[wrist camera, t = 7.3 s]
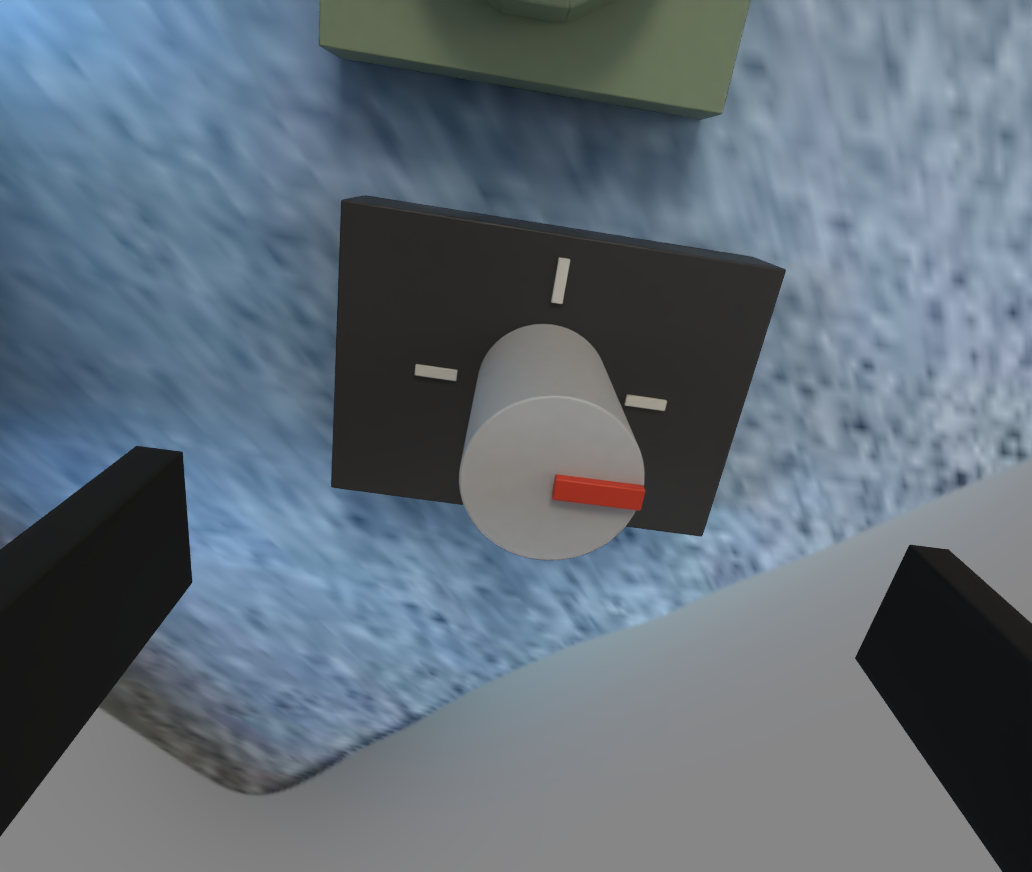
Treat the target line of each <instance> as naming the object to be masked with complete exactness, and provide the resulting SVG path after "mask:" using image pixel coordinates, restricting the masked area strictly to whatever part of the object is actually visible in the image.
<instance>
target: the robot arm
mask: <svg viewBox="0 0 1032 872" xmlns="http://www.w3.org/2000/svg"><path fill="white" fill-rule="evenodd" d="M191 583H192V572H191V559H190V545H189V532H188V518H187V505H186V491H185V478H184V464H183V452H180V451H172V450H164V449H157V448H149V447H141V446H136V447H134V448H133V449H132V450H130V451H129V452H128V453H127V454H125V455H124V456H123V457H121V458H120V459H119V460H117V461H116V462H115V463H113V464H112V465H111V466H109V467H108V468H107V469H106V470H104V471H103V472H102V473H100V474H99V475H98V476H96V477H95V478H94V479H92V480H91V481H90V482H88V483H87V484H86V485H85V486H83V487H82V488H81V489H79V490H78V491H77V492H75V493H74V494H73V495H71V496H70V497H69V498H67V499H66V500H65V501H64V502H62V503H61V504H60V505H58V506H57V507H56V508H54V509H53V510H52V511H50V512H49V513H48V514H46V515H45V516H44V517H43V518H41V519H40V520H39V521H37V522H36V523H35V524H33V525H32V526H31V527H29V528H28V529H27V530H25V531H24V532H23V533H22V534H20V535H19V536H18V537H16V538H15V539H14V540H12V541H11V542H10V543H8V544H7V545H6V546H4V547H3V548H2V549H1V550H0V836H1V835H2V833H3V832H4V831H5V830H6V828H7V827H8V826H9V824H10V823H11V822H12V820H13V819H14V818H15V816H16V815H17V814H18V812H19V811H20V810H21V808H22V807H23V806H24V804H25V803H26V802H27V801H28V799H29V798H30V796H31V795H32V794H33V793H34V791H35V790H36V788H37V787H38V786H39V784H40V783H41V782H42V781H43V779H44V778H45V777H46V775H47V774H48V773H49V771H50V770H51V769H52V767H53V766H54V765H55V763H56V762H57V761H58V759H59V758H60V757H61V755H62V754H63V753H64V751H65V750H66V749H67V748H68V746H69V745H70V744H71V742H72V741H73V740H74V738H75V737H76V736H77V734H78V733H79V732H80V730H81V729H82V728H83V726H84V725H85V724H86V722H87V721H88V720H89V718H90V717H91V716H92V714H93V713H94V712H95V710H96V709H97V708H98V707H99V705H100V704H101V703H102V701H103V700H104V699H105V697H106V696H107V695H108V693H109V692H110V691H111V689H112V688H113V687H114V685H115V684H116V683H117V681H118V680H119V679H120V677H121V676H122V675H123V673H124V672H125V671H126V669H127V668H128V667H129V666H130V664H131V663H132V662H133V660H134V659H135V658H136V656H137V655H138V654H139V652H140V651H141V650H142V648H143V647H144V646H145V644H146V643H147V642H148V640H149V639H150V638H151V636H152V635H153V634H154V632H155V631H156V630H157V628H158V627H159V626H160V625H161V623H162V622H163V621H164V619H165V618H166V617H167V615H168V614H169V613H170V611H171V610H172V609H173V607H174V606H175V605H176V603H177V602H178V601H179V599H180V598H181V597H182V595H183V594H184V593H185V591H186V590H187V589H188V587H189V586H190V585H191ZM855 659H856V660H857V662H858V663H859V665H860V666H861V668H862V669H863V670H864V672H865V673H866V675H867V676H868V678H869V679H870V681H871V682H872V684H873V685H874V686H875V688H876V689H877V691H878V692H879V694H880V695H881V697H882V698H883V699H884V701H885V702H886V704H887V705H888V707H889V708H890V710H891V711H892V712H893V714H894V715H895V717H896V718H897V720H898V721H899V723H900V724H901V726H902V727H903V728H904V730H905V731H906V733H907V734H908V736H909V737H910V739H911V740H912V741H913V743H914V744H915V746H916V747H917V749H918V750H919V751H920V753H921V754H922V756H923V757H924V759H925V760H926V762H927V763H928V765H929V766H930V767H931V769H932V770H933V772H934V773H935V775H936V776H937V777H938V779H939V781H940V782H941V783H942V785H943V786H944V788H945V789H946V790H947V792H948V793H949V795H950V796H951V798H952V799H953V801H954V802H955V804H956V805H957V806H958V808H959V809H960V811H961V812H962V814H963V815H964V817H965V818H966V820H967V821H968V823H969V824H970V825H971V827H972V828H973V830H974V831H975V833H976V834H977V835H978V837H979V838H980V840H981V841H982V843H983V844H984V846H985V847H986V849H987V850H988V851H989V853H990V854H991V856H992V857H993V859H994V860H995V862H996V863H997V864H998V866H999V867H1000V869H1001V870H1002V872H1032V623H1030V622H1029V621H1028V620H1027V619H1026V618H1025V617H1024V616H1023V615H1021V614H1020V613H1019V612H1018V611H1017V610H1016V609H1015V608H1014V607H1012V606H1011V605H1010V604H1009V603H1008V602H1007V601H1006V600H1004V599H1003V598H1002V597H1001V596H1000V595H999V594H998V593H997V592H996V591H994V590H993V589H992V588H991V587H990V586H989V585H988V584H986V582H984V581H983V580H982V579H981V578H980V577H979V576H978V575H977V574H975V573H974V572H973V571H972V570H971V569H970V568H969V567H967V566H966V565H965V564H964V563H963V562H962V561H961V560H960V559H958V558H957V557H956V556H955V555H954V554H953V553H951V551H949V550H948V549H940V548H932V547H924V546H916V545H909V547H908V549H907V551H906V553H905V556H904V557H903V560H902V562H901V564H900V566H899V568H898V570H897V572H896V574H895V576H894V578H893V580H892V582H891V584H890V586H889V589H888V591H887V593H886V595H885V597H884V599H883V601H882V603H881V605H880V607H879V609H878V611H877V614H876V616H875V618H874V620H873V622H872V624H871V626H870V628H869V630H868V632H867V634H866V636H865V639H864V641H863V643H862V645H861V647H860V649H859V651H858V653H857V655H856V657H855Z"/></svg>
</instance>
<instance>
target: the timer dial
mask: <svg viewBox="0 0 1032 872" xmlns="http://www.w3.org/2000/svg"><path fill="white" fill-rule="evenodd" d="M644 473H645V472H644V464H643V459H642V455H641V452H640V449H639V447H638V444H637V442H636V440H635V437H634V435H633V433H632V430H631V428H630V426H629V423H628V421H627V419H626V416H625V414H624V412H623V409H622V407H621V405H620V402H619V400H618V398H617V395H616V393H615V390H614V388H613V386H612V383H611V381H610V379H609V376H608V374H607V372H606V369H605V367H604V365H603V362H602V360H601V358H600V356H599V355H598V353H597V351H596V350H595V349H594V347H593V346H592V345H591V344H590V343H589V342H588V341H587V340H586V339H585V338H583V337H582V336H580V335H579V334H578V333H576V332H574V331H572V330H570V329H567V328H564V327H562V326H557V325H552V324H534V325H529V326H524V327H521V328H518V329H516V330H514V331H512V332H510V333H508V334H507V335H505V336H503V337H502V338H501V339H500V340H498V341H497V342H496V343H495V344H494V345H493V346H492V348H491V349H490V350H489V351H488V353H487V354H486V356H485V358H484V360H483V362H482V364H481V367H480V370H479V373H478V378H477V384H476V389H475V394H474V399H473V404H472V409H471V414H470V419H469V424H468V429H467V434H466V439H465V444H464V449H463V454H462V459H461V465H460V470H459V487H460V494H461V498H462V502H463V504H464V507H465V509H466V512H467V514H468V515H469V517H470V519H471V520H472V522H473V523H474V524H475V526H476V527H477V528H478V529H479V531H480V532H481V533H482V534H483V535H484V536H486V537H487V538H488V539H489V540H490V541H492V542H493V543H494V544H496V545H497V546H499V547H501V548H503V549H504V550H506V551H509V552H511V553H513V554H516V555H519V556H522V557H526V558H531V559H536V560H563V559H570V558H574V557H578V556H582V555H584V554H587V553H589V552H592V551H594V550H596V549H598V548H600V547H602V546H603V545H605V544H606V543H608V542H609V541H611V540H612V539H613V538H614V537H615V536H617V535H618V534H619V533H620V532H621V531H622V530H623V529H624V527H625V526H626V525H627V524H628V523H629V521H630V520H631V518H632V517H633V515H634V513H635V511H636V510H638V511H640V510H641V507H642V503H643V499H644V495H645V489H644Z"/></svg>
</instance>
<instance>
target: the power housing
mask: <svg viewBox="0 0 1032 872" xmlns="http://www.w3.org/2000/svg"><path fill="white" fill-rule="evenodd" d="M749 4H750V0H320V22H319V45H320V46H321V47H323V48H324V49H326V50H328V51H329V52H331V53H333V54H334V55H336V56H337V57H339V58H343V59H348V60H354V61H360V62H366V63H372V64H378V65H384V66H390V67H396V68H401V69H407V70H413V71H419V72H425V73H431V74H437V75H443V76H448V77H454V78H460V79H466V80H472V81H478V82H484V83H490V84H496V85H501V86H507V87H513V88H519V89H525V90H531V91H537V92H543V93H548V94H554V95H560V96H566V97H572V98H578V99H584V100H590V101H596V102H601V103H607V104H613V105H619V106H625V107H631V108H637V109H643V110H648V111H654V112H660V113H666V114H672V115H678V116H684V117H690V118H696V119H705V118H709V117H713V116H716V115H720V114H722V112H723V108H724V104H725V100H726V96H727V92H728V88H729V84H730V80H731V76H732V72H733V68H734V64H735V60H736V56H737V52H738V48H739V44H740V40H741V36H742V32H743V28H744V24H745V20H746V16H747V12H748V8H749Z"/></svg>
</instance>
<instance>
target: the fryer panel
mask: <svg viewBox="0 0 1032 872" xmlns="http://www.w3.org/2000/svg"><path fill="white" fill-rule="evenodd" d="M785 272H786V270H785V269H783V268H780V267H778V266H775V265H773V264H770V263H767V262H765V261H762V260H760V259H757V258H754V257H750V256H744V255H738V254H731V253H725V252H719V251H712V250H706V249H700V248H693V247H687V246H681V245H674V244H668V243H662V242H655V241H649V240H643V239H637V238H630V237H624V236H618V235H611V234H605V233H599V232H592V231H586V230H580V229H573V228H567V227H561V226H554V225H548V224H542V223H536V222H529V221H523V220H517V219H510V218H504V217H498V216H491V215H485V214H479V213H472V212H466V211H460V210H453V209H447V208H441V207H434V206H428V205H422V204H416V203H409V202H403V201H397V200H390V199H384V198H378V197H371V196H360V197H354V198H349V199H344V200H342V201H341V224H340V252H339V280H338V308H337V336H336V364H335V392H334V420H333V448H332V476H331V487H333V488H340V489H347V490H355V491H362V492H370V493H377V494H385V495H392V496H400V497H407V498H415V499H423V500H430V501H438V502H445V503H453V504H460V505H464V504H463V502H462V498H461V494H460V487H459V470H460V465H461V459H462V454H463V449H464V444H465V439H466V434H467V429H468V424H469V419H470V414H471V409H472V404H473V399H474V394H475V389H476V384H477V378H478V373H479V370H480V367H481V364H482V362H483V360H484V358H485V356H486V354H487V353H488V351H489V350H490V349H491V348H492V346H493V345H494V344H495V343H496V342H497V341H498V340H500V339H501V338H502V337H503V336H505V335H507V334H508V333H510V332H512V331H514V330H516V329H518V328H521V327H524V326H529V325H534V324H552V325H557V326H562V327H564V328H567V329H570V330H572V331H574V332H576V333H578V334H579V335H580V336H582V337H583V338H585V339H586V340H587V341H588V342H589V343H590V344H591V345H592V346H593V347H594V349H595V350H596V351H597V353H598V355H599V356H600V358H601V360H602V362H603V365H604V367H605V369H606V372H607V374H608V376H609V379H610V381H611V383H612V386H613V388H614V390H615V393H616V395H617V398H618V400H619V402H620V405H621V407H622V409H623V412H624V414H625V416H626V419H627V421H628V423H629V426H630V428H631V430H632V433H633V435H634V437H635V440H636V442H637V444H638V447H639V449H640V452H641V455H642V459H643V464H644V472H645V473H644V489H645V495H644V499H643V503H642V507H641V510H640V511H638V510H636V511H635V513H634V515H633V517H632V518H631V520H630V521H629V523H628V524H627V525H626V527H634V528H641V529H649V530H656V531H664V532H672V533H679V534H687V535H694V536H702V535H703V532H704V529H705V526H706V523H707V520H708V517H709V513H710V510H711V507H712V504H713V501H714V497H715V494H716V491H717V488H718V485H719V482H720V478H721V475H722V472H723V469H724V466H725V462H726V459H727V456H728V453H729V450H730V447H731V443H732V440H733V437H734V434H735V431H736V427H737V424H738V421H739V418H740V415H741V412H742V408H743V405H744V402H745V399H746V396H747V392H748V389H749V386H750V383H751V380H752V377H753V373H754V370H755V367H756V364H757V361H758V358H759V354H760V351H761V348H762V345H763V342H764V338H765V335H766V332H767V329H768V326H769V323H770V319H771V316H772V313H773V310H774V307H775V303H776V300H777V297H778V294H779V291H780V288H781V284H782V281H783V278H784V275H785Z"/></svg>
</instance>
